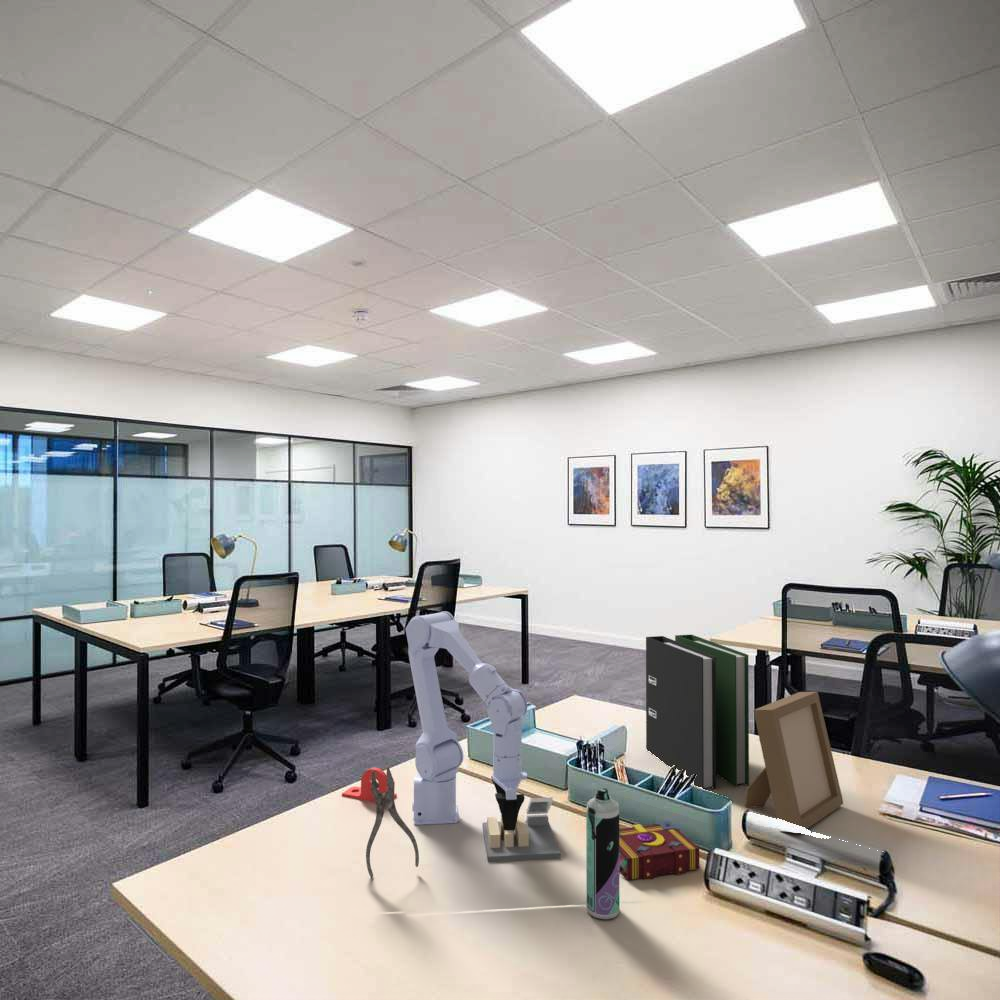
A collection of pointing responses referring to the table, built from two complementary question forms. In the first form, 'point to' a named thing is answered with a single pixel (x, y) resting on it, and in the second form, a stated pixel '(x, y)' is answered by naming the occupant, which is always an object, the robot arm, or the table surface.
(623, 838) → the decorative book
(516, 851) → the board
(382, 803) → the pliers
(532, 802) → the grey flat plate
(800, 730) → the photo frame
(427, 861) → the table surface
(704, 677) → the binder
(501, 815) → the pin
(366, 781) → the bracket
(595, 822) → the spray can
